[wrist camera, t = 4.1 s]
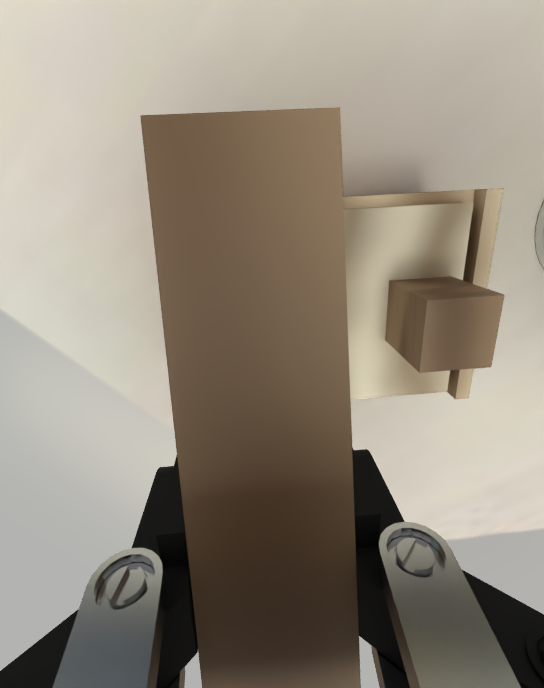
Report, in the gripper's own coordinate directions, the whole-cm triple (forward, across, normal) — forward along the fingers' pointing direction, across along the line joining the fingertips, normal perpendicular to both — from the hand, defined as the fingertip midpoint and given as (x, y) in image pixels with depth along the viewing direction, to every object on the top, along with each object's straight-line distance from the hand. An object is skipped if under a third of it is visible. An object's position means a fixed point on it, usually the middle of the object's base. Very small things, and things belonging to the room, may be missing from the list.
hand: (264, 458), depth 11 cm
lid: (+15, -5, 0) cm, 15 cm away
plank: (+2, 0, +1) cm, 2 cm away
